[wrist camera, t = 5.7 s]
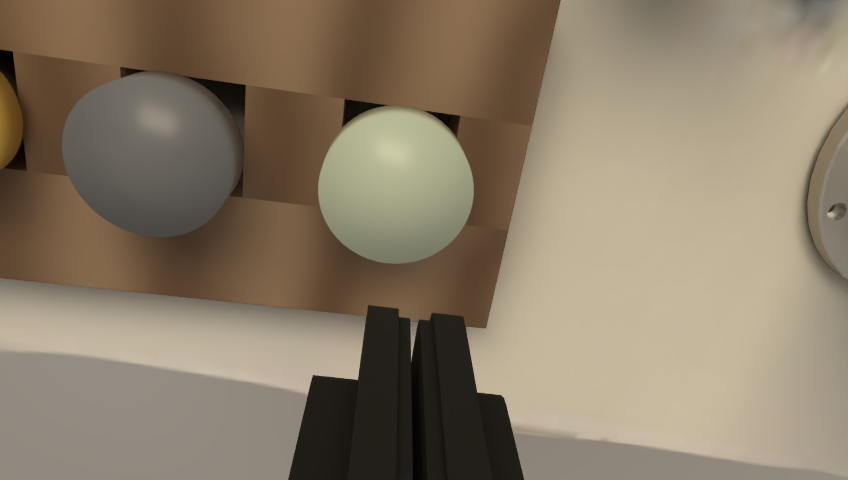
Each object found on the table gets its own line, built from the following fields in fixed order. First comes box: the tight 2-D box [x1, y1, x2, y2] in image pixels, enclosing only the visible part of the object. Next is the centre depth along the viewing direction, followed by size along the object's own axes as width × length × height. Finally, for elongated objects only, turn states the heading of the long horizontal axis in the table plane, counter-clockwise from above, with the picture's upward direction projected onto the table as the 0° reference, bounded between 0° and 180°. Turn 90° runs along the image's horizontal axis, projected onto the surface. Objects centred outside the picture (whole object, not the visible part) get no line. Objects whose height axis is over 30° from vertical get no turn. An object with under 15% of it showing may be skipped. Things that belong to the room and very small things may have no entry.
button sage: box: [318, 105, 474, 264], centre depth 22 cm, size 5×5×5 cm
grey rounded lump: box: [62, 71, 244, 237], centre depth 21 cm, size 5×5×5 cm
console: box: [0, 0, 560, 328], centre depth 23 cm, size 26×14×3 cm, turn 81°
